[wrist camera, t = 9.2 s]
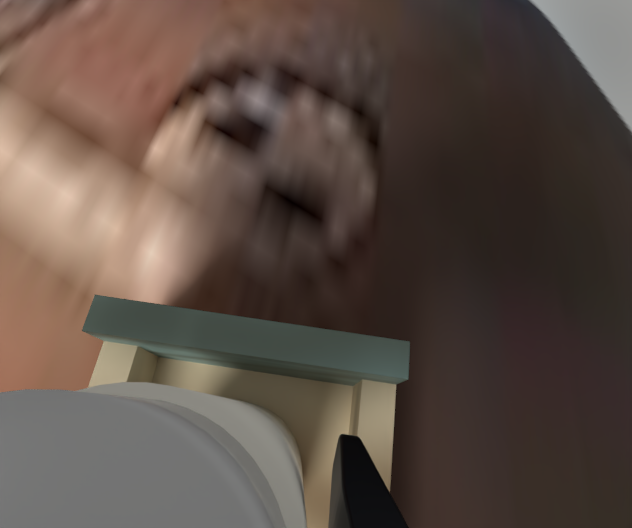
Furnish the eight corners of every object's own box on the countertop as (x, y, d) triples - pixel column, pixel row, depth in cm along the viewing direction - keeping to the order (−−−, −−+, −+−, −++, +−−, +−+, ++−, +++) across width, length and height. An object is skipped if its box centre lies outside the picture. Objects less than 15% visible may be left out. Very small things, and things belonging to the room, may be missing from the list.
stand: (355, 679, 14) (387, 814, 9) (56, 633, 14) (-71, 743, 9) (378, 365, 18) (409, 341, 13) (148, 330, 18) (95, 294, 13)
